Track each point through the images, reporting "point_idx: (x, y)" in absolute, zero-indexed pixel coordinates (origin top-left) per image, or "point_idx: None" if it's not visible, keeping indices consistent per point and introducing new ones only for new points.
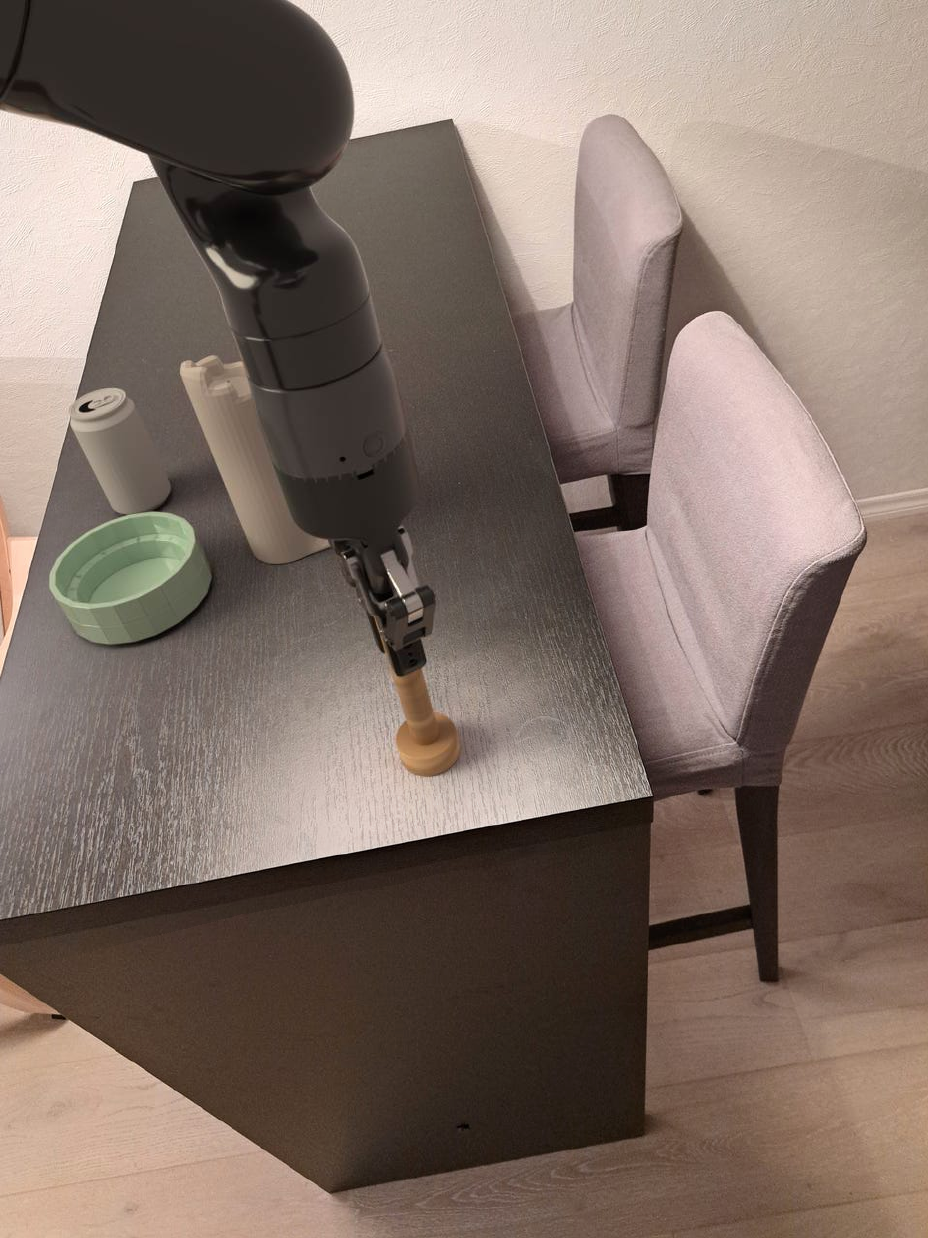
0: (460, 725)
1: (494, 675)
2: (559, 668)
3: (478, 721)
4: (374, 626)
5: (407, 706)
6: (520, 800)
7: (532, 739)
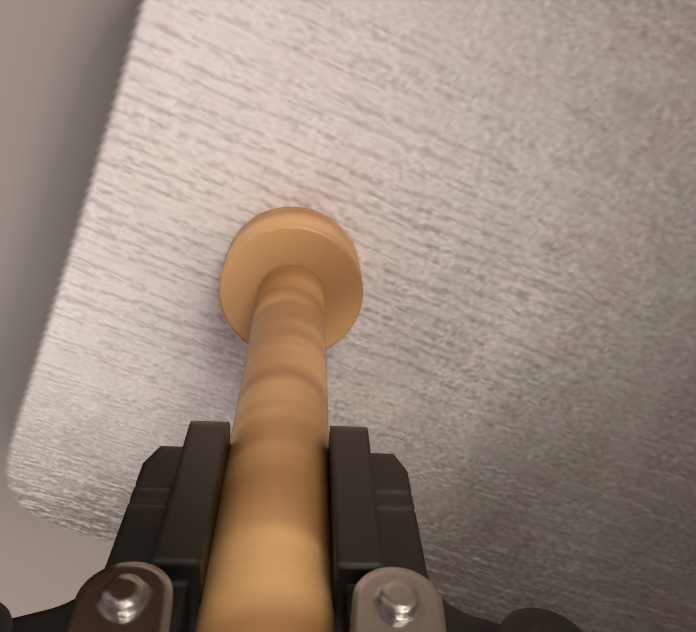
0: None
1: None
2: None
3: None
4: (333, 517)
5: (261, 334)
6: (78, 350)
7: None
